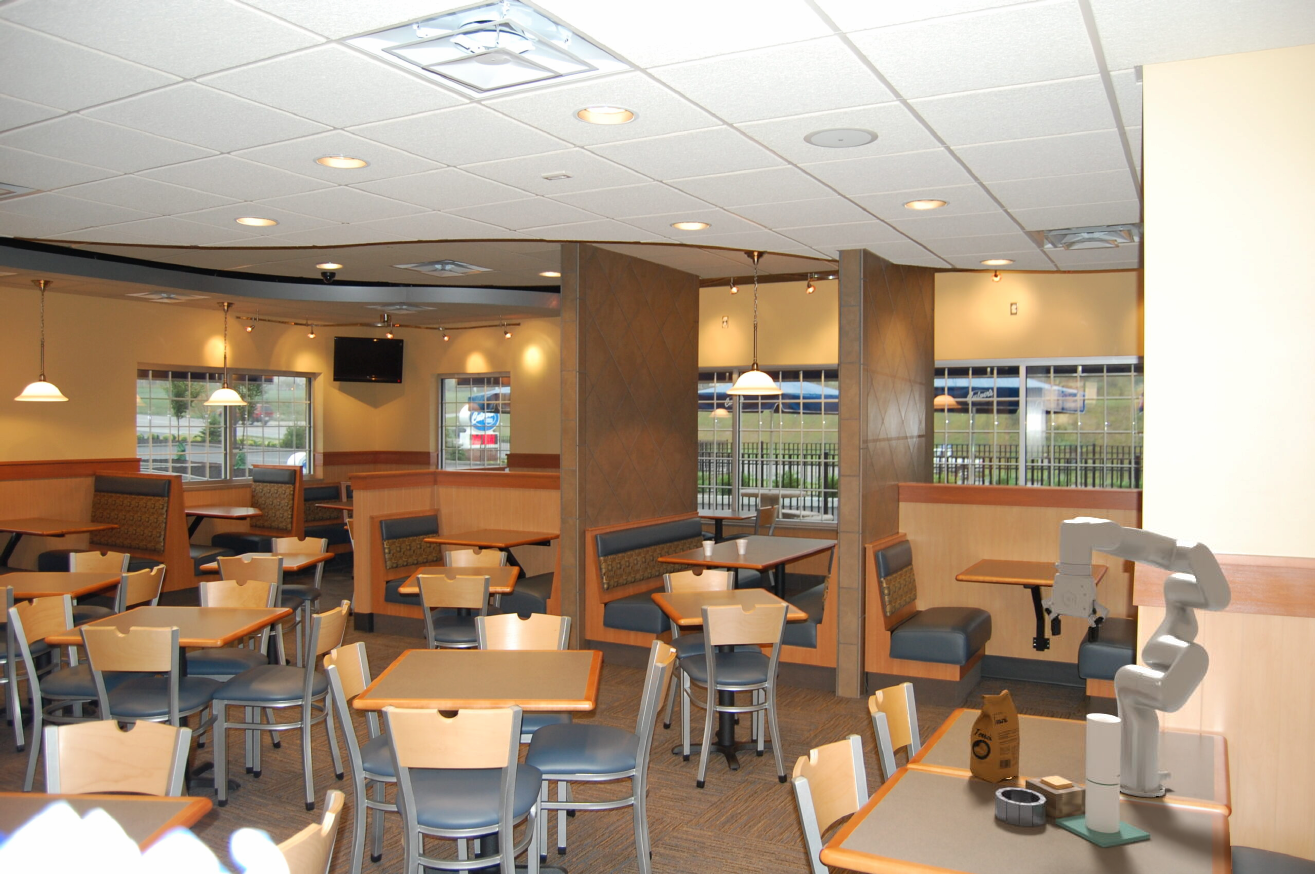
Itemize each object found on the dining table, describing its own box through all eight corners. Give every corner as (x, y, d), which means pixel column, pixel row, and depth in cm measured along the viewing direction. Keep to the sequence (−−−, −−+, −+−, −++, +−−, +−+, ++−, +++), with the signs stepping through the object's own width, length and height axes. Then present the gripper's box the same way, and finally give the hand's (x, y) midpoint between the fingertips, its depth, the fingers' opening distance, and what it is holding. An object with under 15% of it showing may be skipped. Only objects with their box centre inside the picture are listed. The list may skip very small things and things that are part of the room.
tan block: (1056, 797, 240) (1056, 775, 240) (1072, 805, 236) (1072, 782, 236) (1040, 800, 239) (1040, 778, 239) (1056, 807, 234) (1056, 785, 234)
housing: (1056, 798, 244) (1056, 774, 244) (1087, 813, 234) (1088, 788, 234) (1025, 804, 240) (1025, 779, 240) (1055, 819, 231) (1056, 793, 231)
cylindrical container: (1123, 826, 225) (1124, 717, 224) (1113, 835, 219) (1115, 724, 219) (1091, 817, 229) (1092, 711, 229) (1080, 826, 224) (1082, 718, 224)
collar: (1021, 805, 239) (1022, 785, 239) (1055, 822, 229) (1055, 801, 229) (985, 811, 235) (986, 790, 235) (1018, 829, 225) (1018, 807, 225)
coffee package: (963, 773, 261) (964, 691, 261) (993, 765, 268) (994, 685, 268) (994, 785, 253) (995, 700, 253) (1024, 776, 259) (1026, 694, 259)
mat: (1100, 815, 233) (1100, 811, 233) (1150, 838, 220) (1150, 833, 220) (1055, 823, 228) (1055, 819, 228) (1103, 847, 215) (1103, 842, 215)
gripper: (1034, 566, 247) (1034, 634, 247) (1100, 575, 233) (1099, 646, 234) (1051, 564, 252) (1050, 631, 252) (1116, 573, 238) (1115, 643, 238)
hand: (1074, 638), depth 243 cm, fingers open, 9 cm apart
